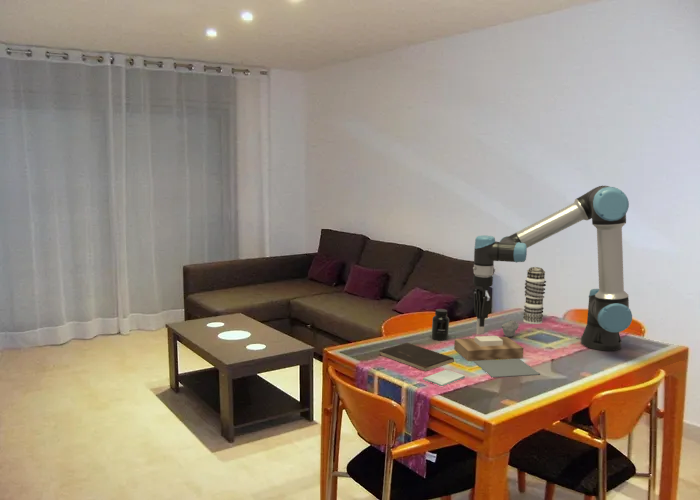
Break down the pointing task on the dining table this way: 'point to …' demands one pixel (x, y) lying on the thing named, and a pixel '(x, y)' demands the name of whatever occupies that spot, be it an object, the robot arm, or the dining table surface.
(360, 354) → the dining table surface
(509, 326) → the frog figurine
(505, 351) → the brown wooden block
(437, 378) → the hard drive
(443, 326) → the supplement bottle
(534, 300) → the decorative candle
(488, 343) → the cream rectangular block
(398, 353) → the hardcover book
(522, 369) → the mat
